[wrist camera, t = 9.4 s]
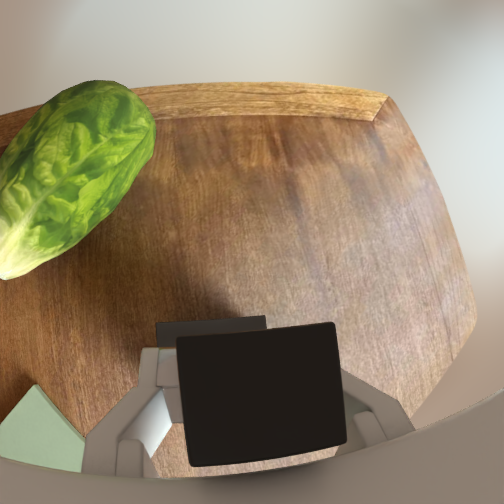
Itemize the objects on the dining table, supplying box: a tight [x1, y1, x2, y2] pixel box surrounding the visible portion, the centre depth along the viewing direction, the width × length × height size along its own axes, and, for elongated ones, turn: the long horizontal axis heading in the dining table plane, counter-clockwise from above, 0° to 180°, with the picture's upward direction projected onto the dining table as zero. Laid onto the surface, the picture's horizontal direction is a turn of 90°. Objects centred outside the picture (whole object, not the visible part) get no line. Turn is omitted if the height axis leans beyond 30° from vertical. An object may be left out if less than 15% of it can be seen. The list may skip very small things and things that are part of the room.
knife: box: [175, 322, 347, 467], centre depth 13 cm, size 2×3×18 cm, turn 96°
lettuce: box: [0, 80, 156, 280], centre depth 31 cm, size 15×27×16 cm, turn 148°
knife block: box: [156, 315, 267, 348], centre depth 31 cm, size 8×10×8 cm
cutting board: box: [0, 384, 86, 473], centre depth 26 cm, size 20×13×1 cm, turn 48°
